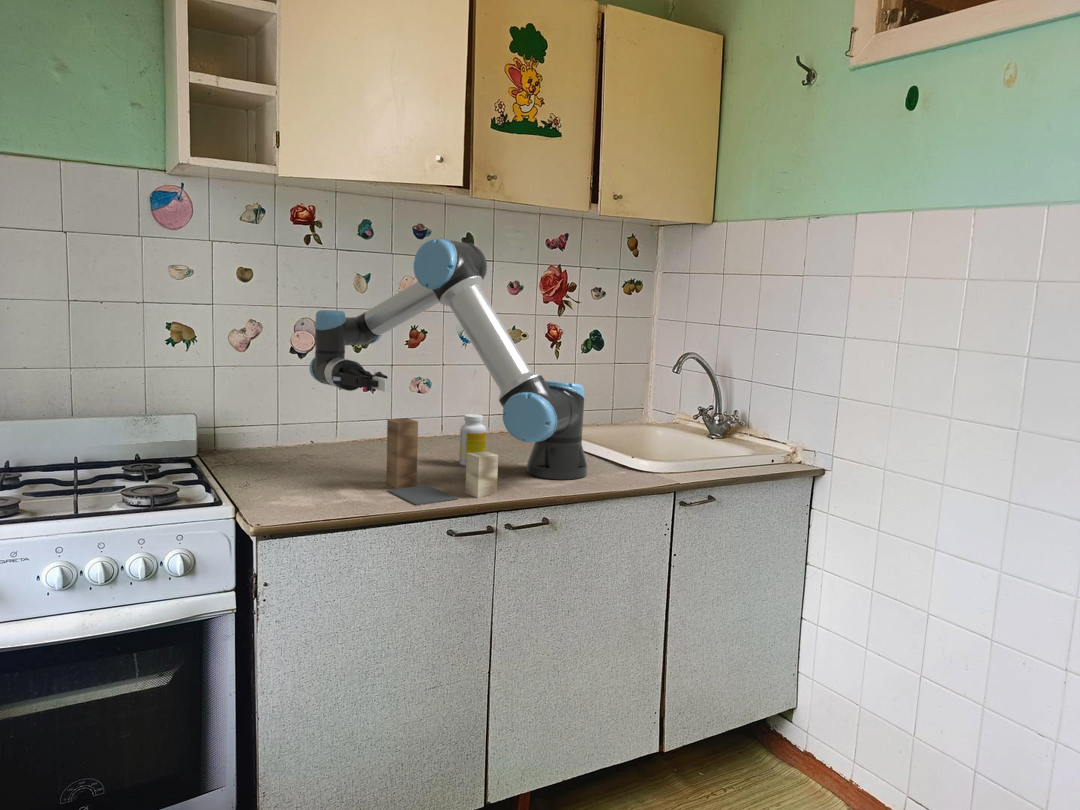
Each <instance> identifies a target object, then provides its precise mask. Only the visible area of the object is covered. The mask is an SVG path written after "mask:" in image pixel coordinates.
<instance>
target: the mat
mask: <svg viewBox="0 0 1080 810" xmlns="http://www.w3.org/2000/svg"><path fill="white" fill-rule="evenodd" d="M386 491H387V492H388V493H390V494H391V495H394V496H396V497H398V498H400V499H402V500H404V501H407V502H408V503H410V504H412V505H414V504H415V505H414V506H416V505H417V506H422V505H421V504H423V505H428V504H427V503H430V504H435V503H434V502H437V503H442V501H444V502H449V501H455V500H458V497H456V496H454V495H452V494H449V493H447V492H445V491H443V490H440V489H438V488H436V487H433V486H431V485H429V484H423V485H417V486H414V487H407V488H399V489H394V488H392V489H387V490H386Z"/></svg>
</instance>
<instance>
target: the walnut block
mask: <svg viewBox="0 0 1080 810" xmlns="http://www.w3.org/2000/svg"><path fill="white" fill-rule="evenodd" d="M386 422H387V423H386V424H387V425H386V427H387V428H386V429H387V430H386V433H387V434H386V435H387V436H386V478H385V479H386V481H385V482H386V486H388V485H389V486H388V487H390V488H392V487H393V488H392V489H394V488H395V489H399V488H407V487H414V486H418V482H417V481H418V477H417V476H418V446H419V445H418V444H419V443H418V439H419V421H417V420H415V419H411V418H409V417H405V418H391V419H390V418H389V419H387V420H386Z"/></svg>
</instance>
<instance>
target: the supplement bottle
mask: <svg viewBox="0 0 1080 810" xmlns="http://www.w3.org/2000/svg"><path fill="white" fill-rule="evenodd" d="M483 421H484V415H482V414H475V413H468V414H464V424H462V425H461V426H460V430H459V431H460V432H459V433H460V434H459V438H460V439H459V440H460V441H459V464H460V465H461V466H463V467H466V458H467V453H472V452H482V451H487V449H486V448H487V427H486V426H485V425H483V424H482V423H483Z"/></svg>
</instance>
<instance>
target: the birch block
mask: <svg viewBox="0 0 1080 810" xmlns="http://www.w3.org/2000/svg"><path fill="white" fill-rule="evenodd" d="M465 467H466V469H465V492H464V493H465V494H466V495H469V494H470V495H469V496H472V497H474V498H476V497H477V499H479V498H480V499H481V498H487V496H488V497H493V496H492V495H495V496H497V494H498V473H499V472H498V470H499V469H498V468H499V455H498V454H496V453H492V452H489V451H487V450H486V451H482V452H472V453H467V458H466V466H465Z"/></svg>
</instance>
